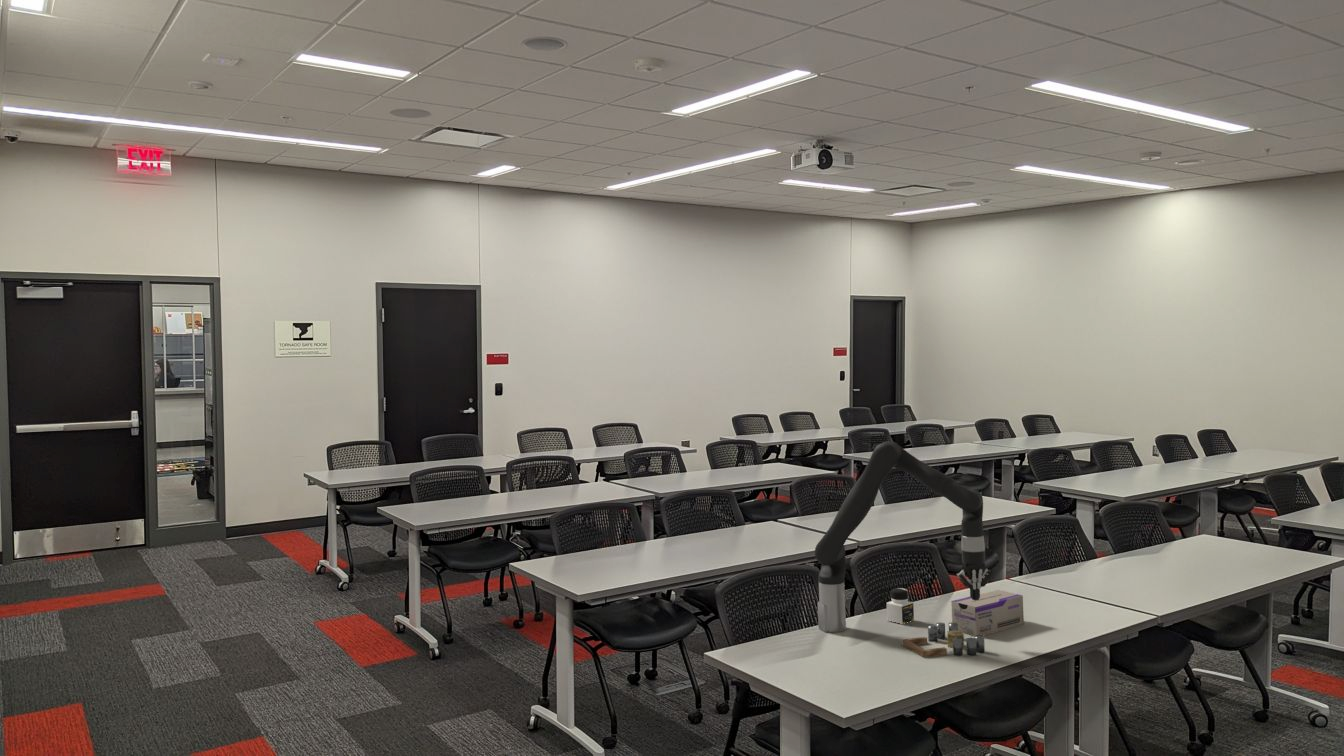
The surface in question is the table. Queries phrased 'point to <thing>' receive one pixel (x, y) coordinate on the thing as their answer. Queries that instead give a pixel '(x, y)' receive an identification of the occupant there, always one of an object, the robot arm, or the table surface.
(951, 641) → the brass nut
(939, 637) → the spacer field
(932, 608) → the table surface
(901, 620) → the medicine bottle
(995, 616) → the surgical sutures box
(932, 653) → the walnut bay
